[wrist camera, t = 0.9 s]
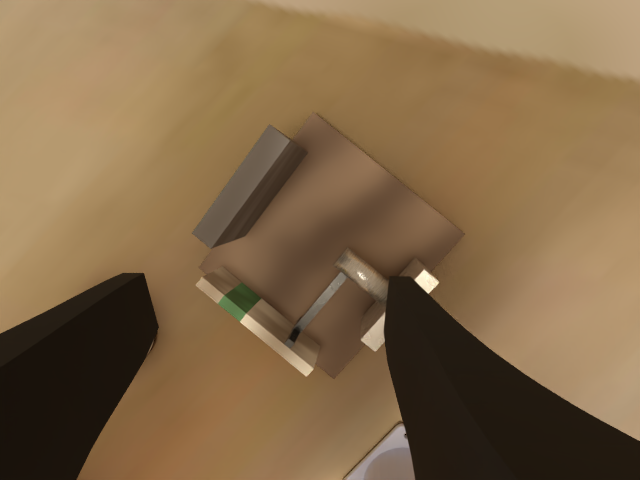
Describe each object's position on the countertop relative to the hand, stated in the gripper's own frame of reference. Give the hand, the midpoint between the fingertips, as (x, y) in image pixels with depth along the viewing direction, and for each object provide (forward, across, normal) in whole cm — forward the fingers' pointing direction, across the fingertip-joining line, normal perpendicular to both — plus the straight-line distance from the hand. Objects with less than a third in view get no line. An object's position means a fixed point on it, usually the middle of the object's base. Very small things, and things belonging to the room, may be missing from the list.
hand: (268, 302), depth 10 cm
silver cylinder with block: (+13, -4, +9) cm, 16 cm away
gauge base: (+16, -2, +7) cm, 17 cm away
